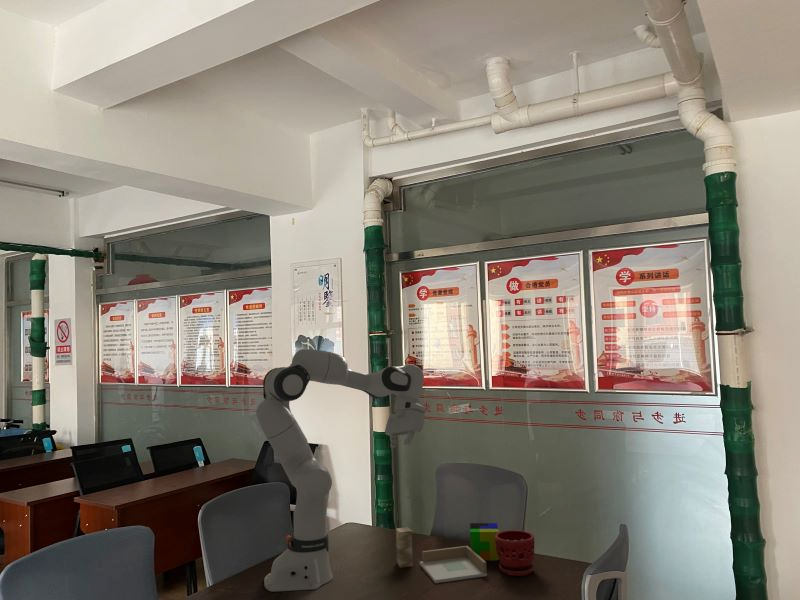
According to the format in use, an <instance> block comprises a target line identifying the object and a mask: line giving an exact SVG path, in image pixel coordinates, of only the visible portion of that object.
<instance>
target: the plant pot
mask: <svg viewBox="0 0 800 600" xmlns="http://www.w3.org/2000/svg"><path fill="white" fill-rule="evenodd" d="M495 544H496V551H497V555H498V558H499V560H500V561H499V565H498V568H499V569H500V571H501V572H502V573H504V574H505V575H509V576H515V577H516V576H518V577H519V576H521V577H522V576H528V575H529V574H531V573H532V572H533V571H534V570H535V565H534V564H533V560H534V557H535V536H534V534H533V533H531V532H529V531H525V530H513V529H511V530H503V531H499V533H497V534H496V535H495Z"/></svg>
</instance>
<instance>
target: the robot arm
mask: <svg viewBox="0 0 800 600" xmlns="http://www.w3.org/2000/svg"><path fill="white" fill-rule="evenodd" d="M309 382H314V383H322V384H326V385H335V386H336V385H338V386H343V387H346V388H351V389H355V390H359V391H361V392H363V393H366V395H368V396H369V397H371V398H374V399H377V400H378V399H384V398H386V397H387V396H389V395H395V396H396V398H395V403H394V410H393V411H392V413H391V414H389V416H388V418H387V422H386V424H385V428H384V429H385V430H384V433H385V435H386V436H388V437H389V440H390V448H392V449H393V448H397V445H398V442H397V440H396V439H397V438H398V436H404V435H407V436H406V438H405V439H404V442H403V444H404V445H405V446H407V447H408V446H411V444H412V440H413V439H414V437H415V434H417V433H420V432H422V430H423V428H424V422H425V413H427V406H424V405H422V404H421V394H422V393H423V392H422V391H423V387H424V385H423V384H424V371H423V370H422V368H420V367H419V366H418V365H416V364H412V363H406V364H404V365H400V366H391V365H390V366H387V367H385V368H382V369H380V370H378V371H375V372H372V373H364V372H360V371H357V370H353V369H350V368H349V366H348V362H347V360H346V358H345V357H344V356H342V355H340V354H338V353H335V352H331V351H327V350H321V349H314V348H312V349H310V348H308V349H307V348H302V349H299V350H297V351H296V352H295V354H294V355H293V357H292V360H291V363H290V365H289V366H287V367H286V366H282V367H281V366H280V367H275V368H274V367H273V368H272V369H271V370H269V371H268V372H266V373H265V375H264V377H263V381H262V387H263V388H262V389H263V394H262V395H263V401H261V402H260V403H259V404H258V406H257V407H256V410H255V413H256V418H257V420H258V423H259V425H260V428H261V430H262V432H263V434H264V436H265V438H266V439H267V442H269V444H270V446H271V448H272V450H273V452H274V453H275V454H276V456H277V458H278V460H279V462H280V464H281V466H282V468H283V471H284V473H285V474H286V476H287V478H288V480H289V481H290V483H291V485H292V486H293V487H294V488H295V489H296V502H295V508H294V510H293V536H291V535H289V534H288V535H286V537H285V542H286V543H287V549H285V550H284V551H283V552H282V553H280V554H279V556H277V557H276V558H275V559H274V560H273V561H272V564H271V565H272V566H271V569H270V572H269V573H268V574H267V575H266V576H265V577H264V579H263V580H264V581H263V582H264V583H263V585H264V588H265V589H266V590H267V591H269V592H273V593H275V592H290V591H307V590H308V591H309V590H317V589H319V588H320V587H321V586H323V585H324V584H328V583H329V582H330V581H332V579H333V577H334V576H333V573H332V569H331V565H330V558H329V551H330V550H329V549H330V538H329V534H328V524H327V523H328V519H327V517H328V515H327V514H328V513H327V511H328V504H329V503H328V502H329V496H330V491H331V489H332V485H333V479H332V475H331V473H330V472H329V470H328V469H327V468H326V467H325V466H324V465H322V464H321V463H320V462H319V461H318V460H317V459H316V457H315V455H314V453H313V451H312V449H311V447H310V444H309V441H308V439H307V437H306V436H305V433H304V432H303V430H302V428H301V426H300V425H299V423H298V421H297V420H296V418H295V416H294V414H292V411H291V408H290V402H293V401H295V400H298V399H299V398H301V397H302V396H303V394H304V392H305V390H306V389H307V386H308V384H309Z"/></svg>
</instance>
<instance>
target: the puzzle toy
mask: <svg viewBox="0 0 800 600" xmlns="http://www.w3.org/2000/svg"><path fill="white" fill-rule="evenodd" d="M469 532H470V533H469V535H470V537H469V539H470V548H471V549H472V550H473V551H474V552H475V553H476V554H478V555H479V556H480V557H481V558H482V559H483V560H484V561H497V560H498V559H499V558H498V555H497V551H496V544H495V535H496V534H497V533H499V532H500V530H499V527H498V523H497V522H494V523H493V522H490V523H489V522H487V523H486V522H485V523H484V522H483V523H481V522H470V523H469Z"/></svg>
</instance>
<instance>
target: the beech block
mask: <svg viewBox="0 0 800 600" xmlns="http://www.w3.org/2000/svg"><path fill="white" fill-rule="evenodd" d="M395 536H396V537H395V545H396V564H397V565H398V567H399V568H409V567H413V566H414V565H413V535H412V529H410V528H409V527H408V526H407V527H399V528H398V527H397V528H395Z"/></svg>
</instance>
